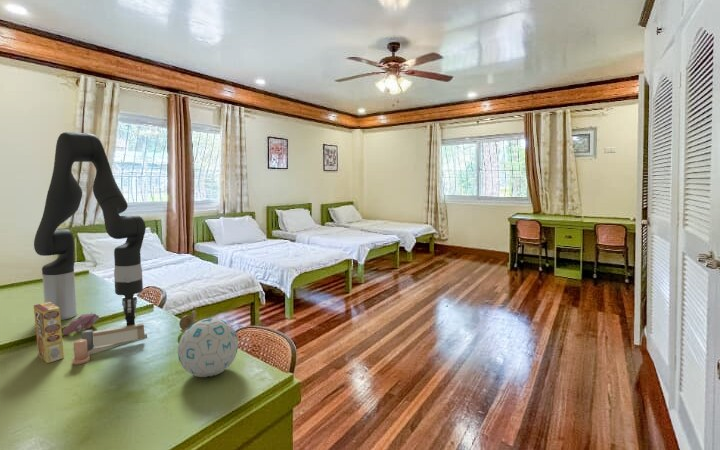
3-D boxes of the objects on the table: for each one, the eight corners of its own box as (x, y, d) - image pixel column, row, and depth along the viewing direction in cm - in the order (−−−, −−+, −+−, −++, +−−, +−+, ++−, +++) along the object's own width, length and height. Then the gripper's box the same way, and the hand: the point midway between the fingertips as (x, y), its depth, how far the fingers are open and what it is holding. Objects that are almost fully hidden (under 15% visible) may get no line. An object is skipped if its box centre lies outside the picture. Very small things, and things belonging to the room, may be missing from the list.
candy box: (64, 358, 107) (61, 307, 105) (46, 364, 103) (42, 311, 102) (54, 350, 112) (51, 301, 110) (36, 355, 108) (32, 304, 107)
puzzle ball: (248, 364, 106) (248, 313, 104) (217, 392, 91) (215, 333, 90) (202, 357, 109) (201, 308, 108) (165, 383, 94) (162, 327, 93)
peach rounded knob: (70, 362, 105) (69, 341, 104) (86, 356, 108) (85, 337, 107) (75, 366, 102) (74, 345, 102) (92, 360, 106) (91, 340, 105)
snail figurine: (203, 343, 118) (202, 307, 117) (187, 352, 112) (186, 314, 111) (189, 341, 120) (188, 305, 119) (173, 349, 114) (172, 311, 113)
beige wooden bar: (82, 350, 109) (81, 333, 108) (83, 347, 111) (82, 331, 111) (144, 339, 118) (143, 323, 117) (144, 336, 120) (143, 321, 119)
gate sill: (78, 352, 110) (77, 349, 110) (141, 333, 125) (141, 331, 125) (83, 356, 108) (83, 353, 108) (147, 336, 123) (146, 333, 123)
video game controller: (70, 340, 122) (77, 323, 121) (60, 333, 123) (66, 316, 122) (97, 329, 132) (103, 313, 131) (87, 323, 133) (93, 307, 131)
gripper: (115, 274, 121) (118, 325, 123) (113, 284, 109) (116, 340, 111) (142, 272, 125) (144, 321, 127) (142, 281, 113) (144, 335, 115)
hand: (131, 330), depth 119 cm, fingers closed
